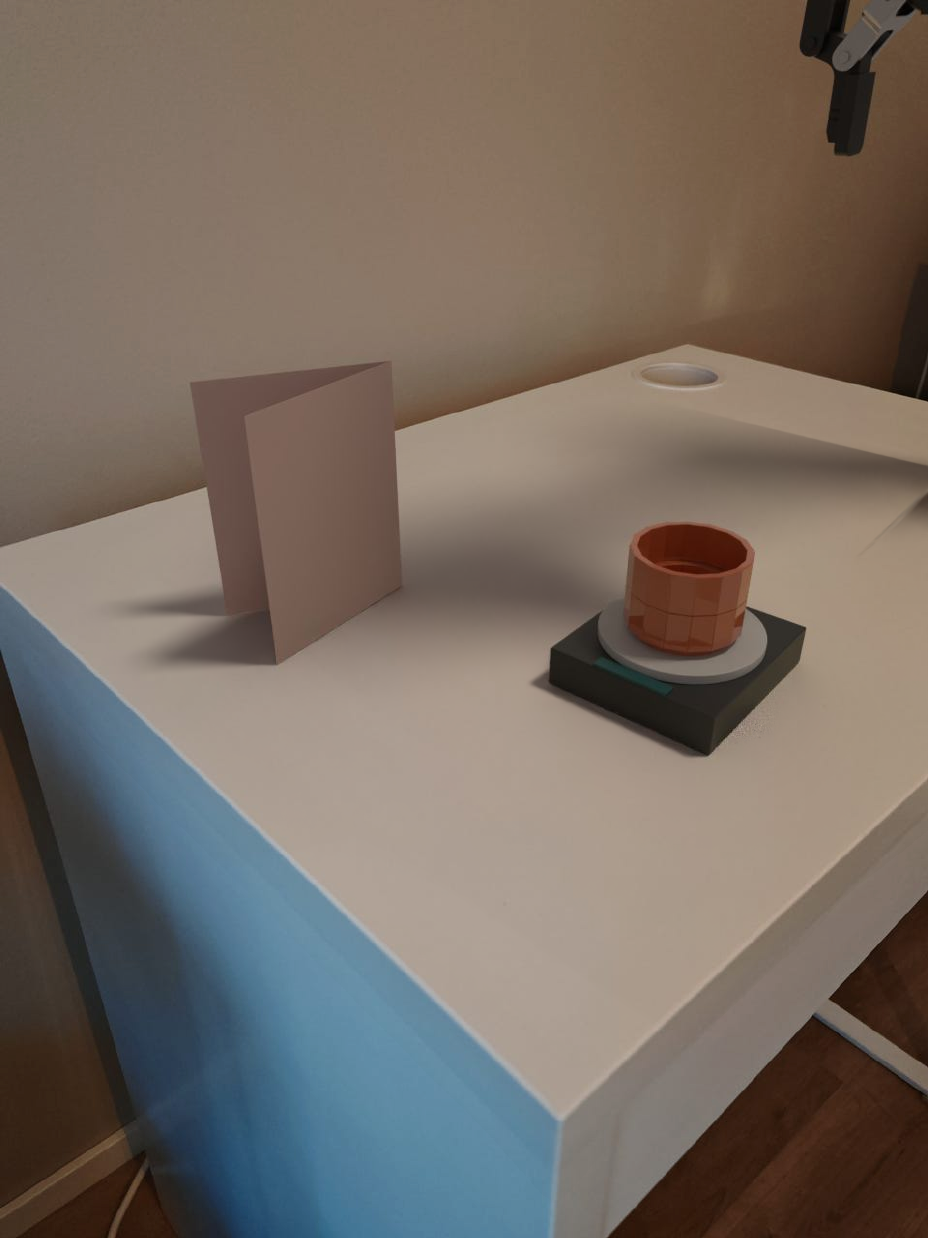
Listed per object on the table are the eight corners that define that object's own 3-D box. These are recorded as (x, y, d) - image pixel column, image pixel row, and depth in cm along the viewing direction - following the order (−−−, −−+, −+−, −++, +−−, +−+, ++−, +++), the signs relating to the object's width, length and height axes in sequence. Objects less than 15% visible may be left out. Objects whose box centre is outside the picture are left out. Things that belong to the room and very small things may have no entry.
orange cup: (660, 587, 57) (669, 511, 55) (761, 624, 54) (775, 543, 51) (601, 632, 53) (607, 551, 51) (705, 674, 50) (718, 590, 47)
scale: (649, 605, 61) (654, 564, 60) (800, 661, 56) (809, 617, 54) (548, 683, 54) (550, 638, 53) (708, 756, 49) (716, 708, 47)
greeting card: (398, 579, 65) (387, 356, 57) (431, 635, 59) (423, 395, 51) (225, 608, 61) (188, 377, 54) (241, 671, 56) (201, 421, 48)
